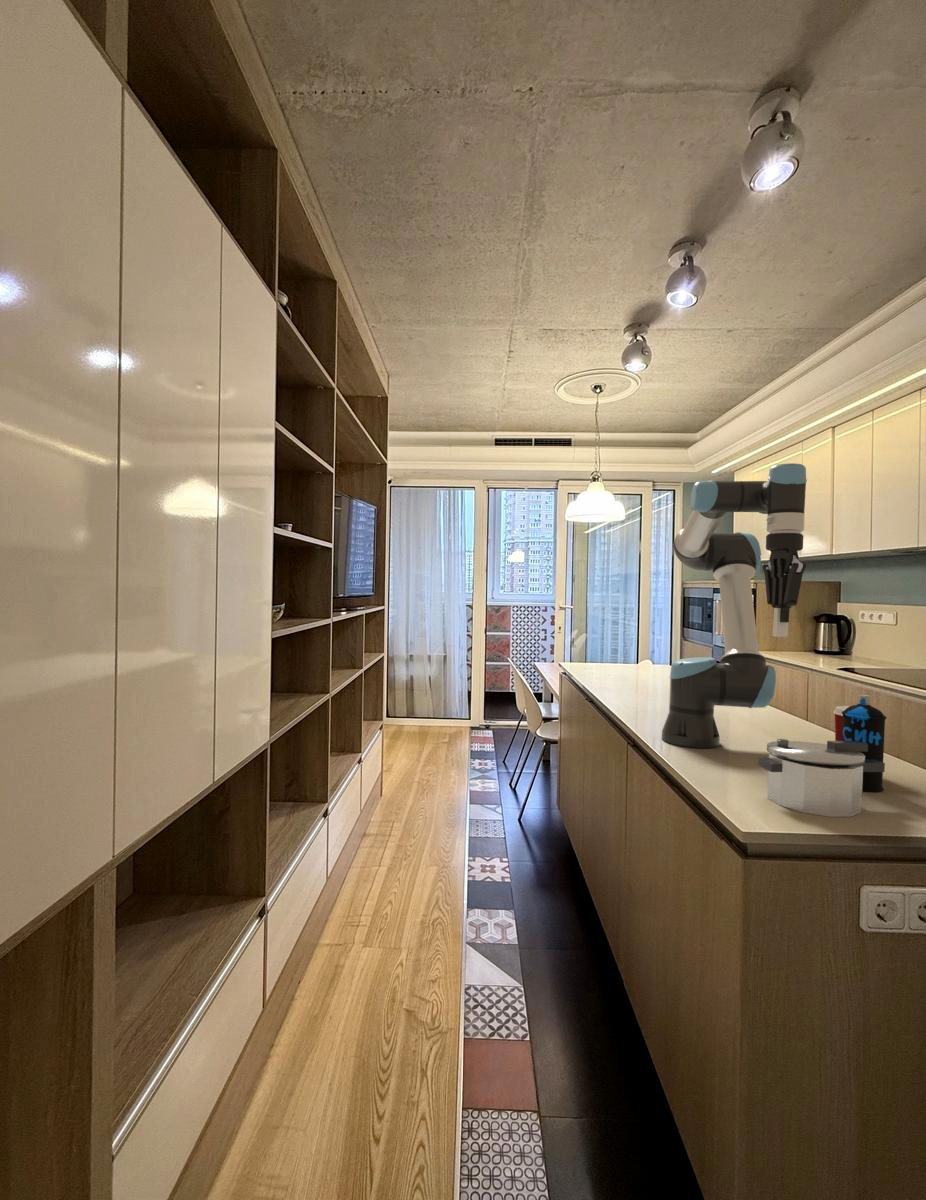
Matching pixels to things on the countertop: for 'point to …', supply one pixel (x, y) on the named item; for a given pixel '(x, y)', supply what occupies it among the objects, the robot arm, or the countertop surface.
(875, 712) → the aerosol can
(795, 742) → the lid
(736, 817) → the countertop surface
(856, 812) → the pot
